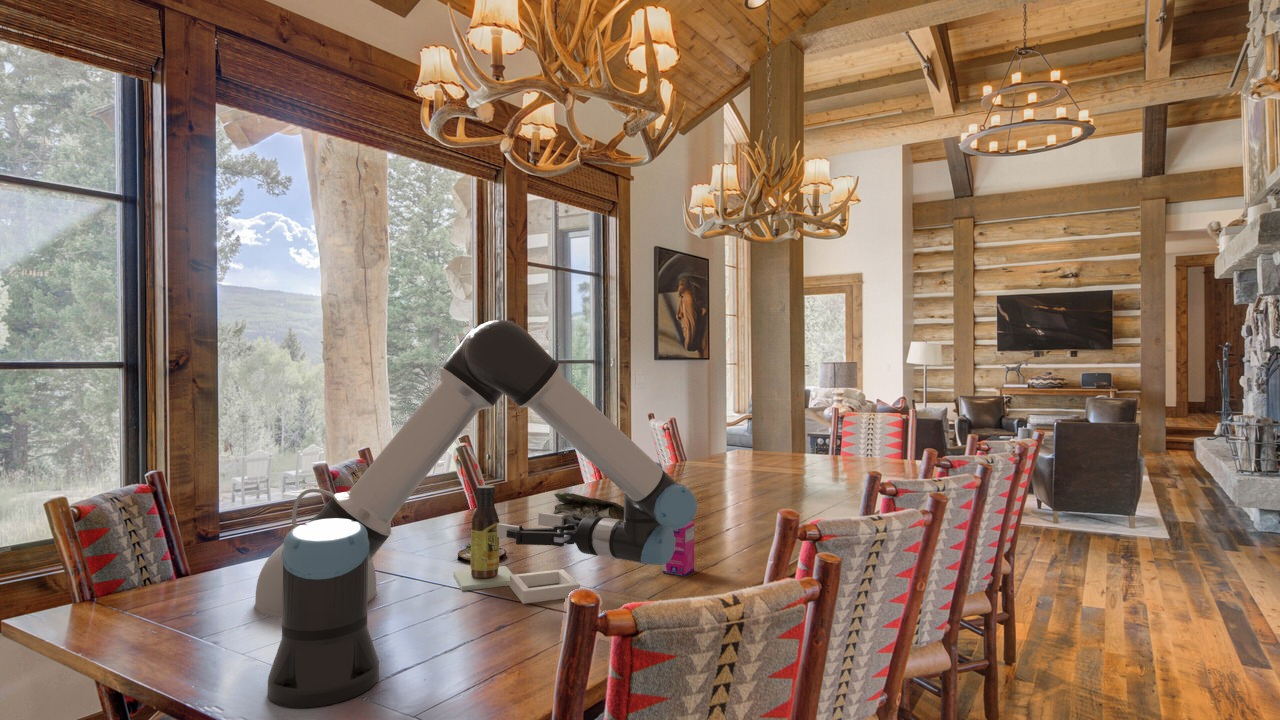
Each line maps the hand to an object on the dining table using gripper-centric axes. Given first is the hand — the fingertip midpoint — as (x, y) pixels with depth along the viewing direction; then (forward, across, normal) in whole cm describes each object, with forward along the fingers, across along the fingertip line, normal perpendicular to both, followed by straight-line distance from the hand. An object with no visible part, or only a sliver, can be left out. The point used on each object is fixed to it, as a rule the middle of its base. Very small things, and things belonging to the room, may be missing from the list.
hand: (519, 524), depth 151 cm
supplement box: (-24, +28, -14) cm, 40 cm away
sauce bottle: (+10, 0, -13) cm, 16 cm away
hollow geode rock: (+11, +45, -14) cm, 48 cm away
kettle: (+29, -27, -14) cm, 42 cm away
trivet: (+10, 0, -14) cm, 17 cm away
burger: (+23, +14, -14) cm, 31 cm away
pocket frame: (-7, 0, -14) cm, 15 cm away
